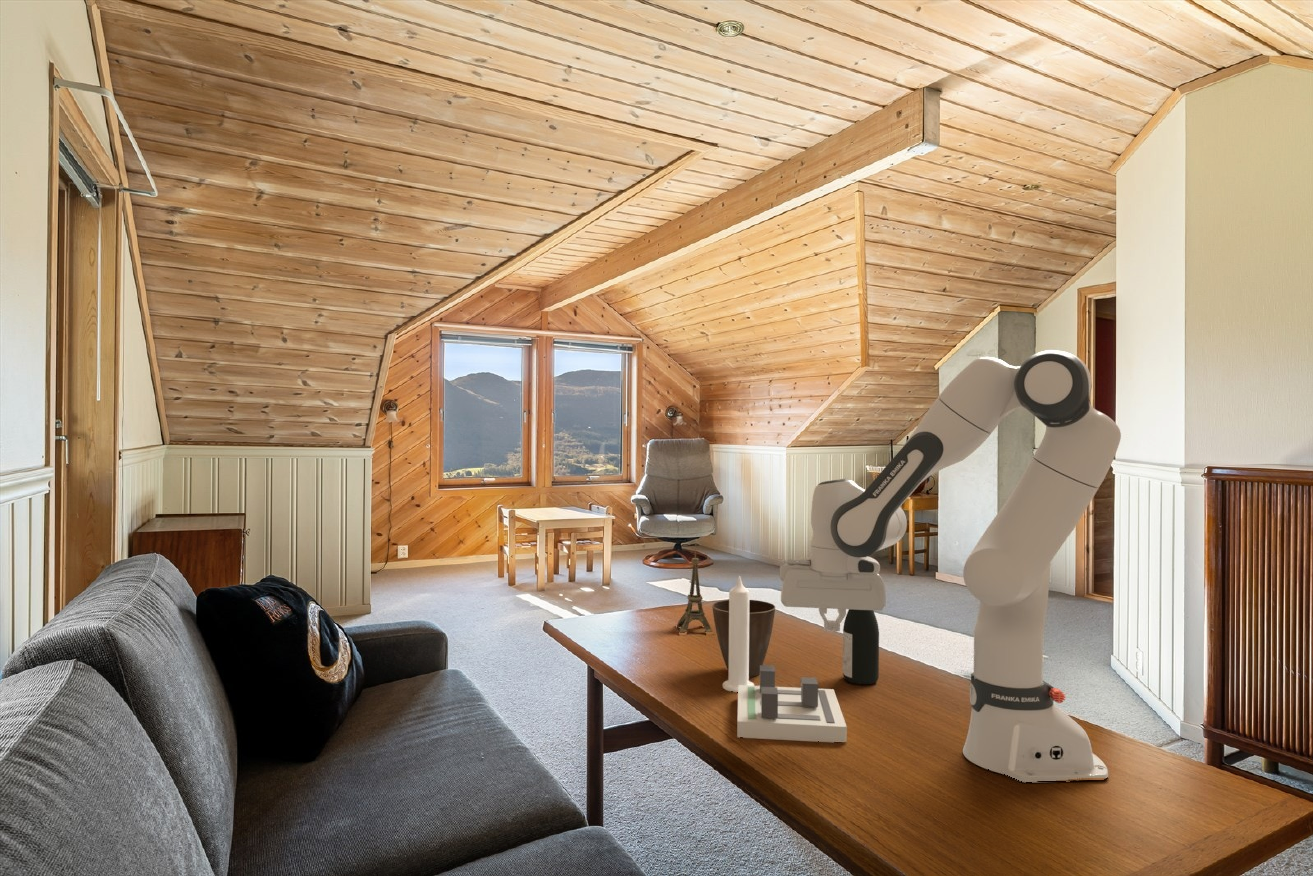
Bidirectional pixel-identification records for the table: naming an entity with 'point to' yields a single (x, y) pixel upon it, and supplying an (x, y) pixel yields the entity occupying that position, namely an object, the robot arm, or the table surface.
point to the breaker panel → (791, 716)
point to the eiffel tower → (692, 598)
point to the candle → (738, 638)
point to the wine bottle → (861, 647)
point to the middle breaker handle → (809, 691)
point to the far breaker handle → (767, 676)
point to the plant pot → (758, 631)
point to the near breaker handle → (769, 702)
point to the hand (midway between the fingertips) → (831, 630)
